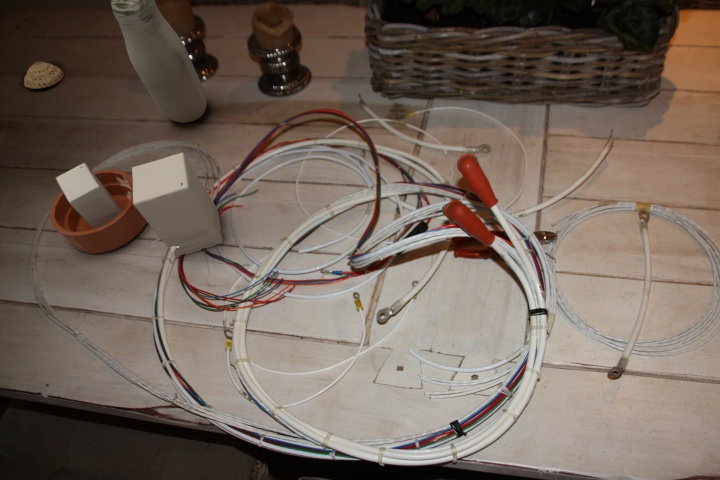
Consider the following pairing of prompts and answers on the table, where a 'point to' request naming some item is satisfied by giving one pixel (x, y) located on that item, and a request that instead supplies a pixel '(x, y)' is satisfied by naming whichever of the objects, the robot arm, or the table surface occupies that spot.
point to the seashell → (42, 75)
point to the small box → (88, 196)
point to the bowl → (110, 233)
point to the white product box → (176, 204)
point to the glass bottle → (160, 60)
